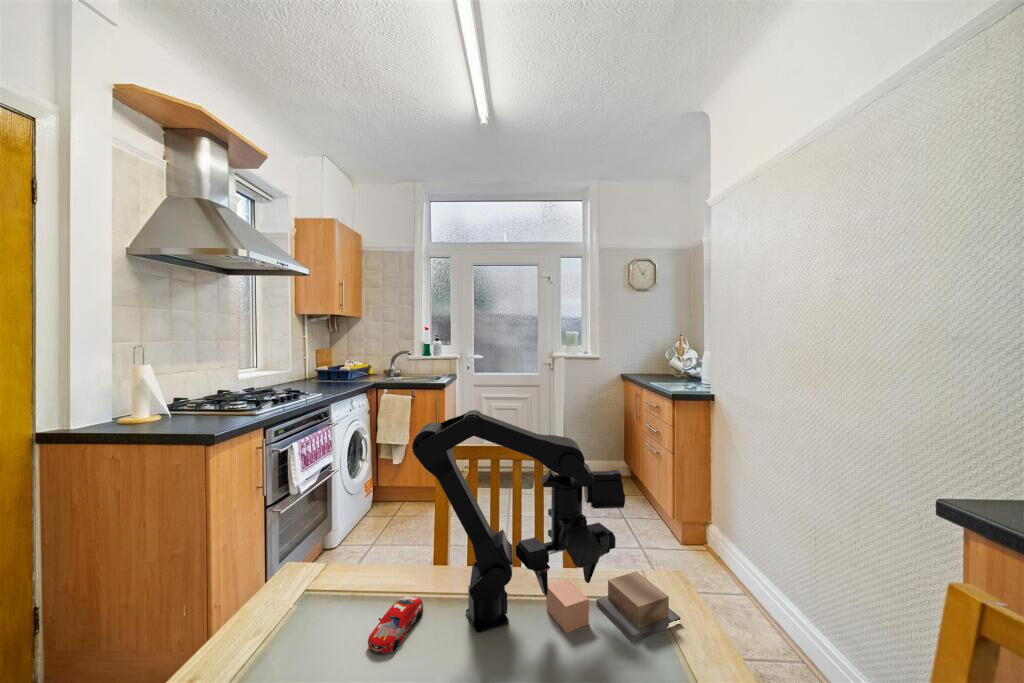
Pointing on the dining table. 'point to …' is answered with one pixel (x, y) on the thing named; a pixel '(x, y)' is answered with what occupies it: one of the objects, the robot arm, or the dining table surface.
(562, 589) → the terracotta brick
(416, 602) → the race car
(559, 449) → the robot arm
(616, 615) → the tower base
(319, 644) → the dining table surface
